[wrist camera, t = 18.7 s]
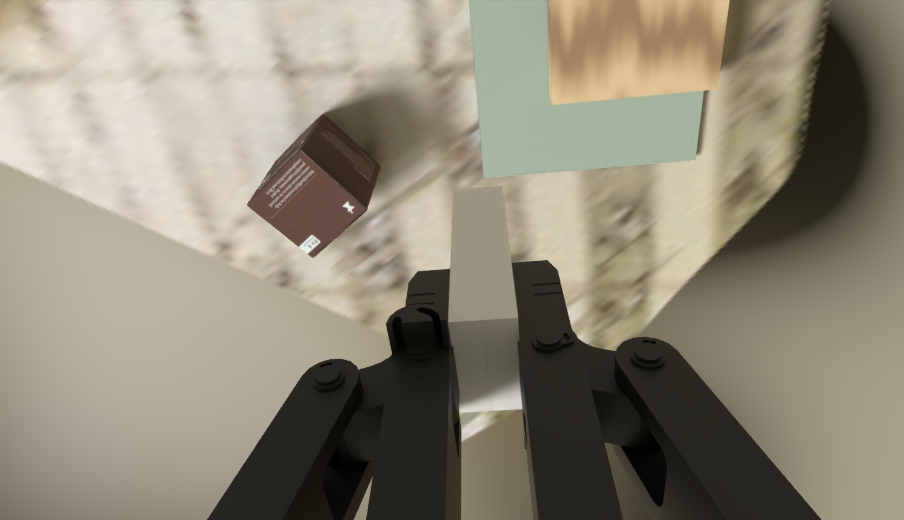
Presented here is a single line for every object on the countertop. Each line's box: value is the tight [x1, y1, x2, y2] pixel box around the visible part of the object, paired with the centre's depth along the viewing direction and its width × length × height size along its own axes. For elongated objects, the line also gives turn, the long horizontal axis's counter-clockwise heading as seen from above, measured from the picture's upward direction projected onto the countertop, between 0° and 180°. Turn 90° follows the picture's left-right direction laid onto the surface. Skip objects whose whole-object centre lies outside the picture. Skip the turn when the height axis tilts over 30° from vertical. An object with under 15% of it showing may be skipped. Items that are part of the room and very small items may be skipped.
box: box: [247, 115, 380, 258], centre depth 43 cm, size 6×6×7 cm
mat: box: [469, 0, 704, 178], centre depth 40 cm, size 20×16×1 cm
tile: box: [547, 0, 730, 105], centre depth 39 cm, size 8×2×11 cm
